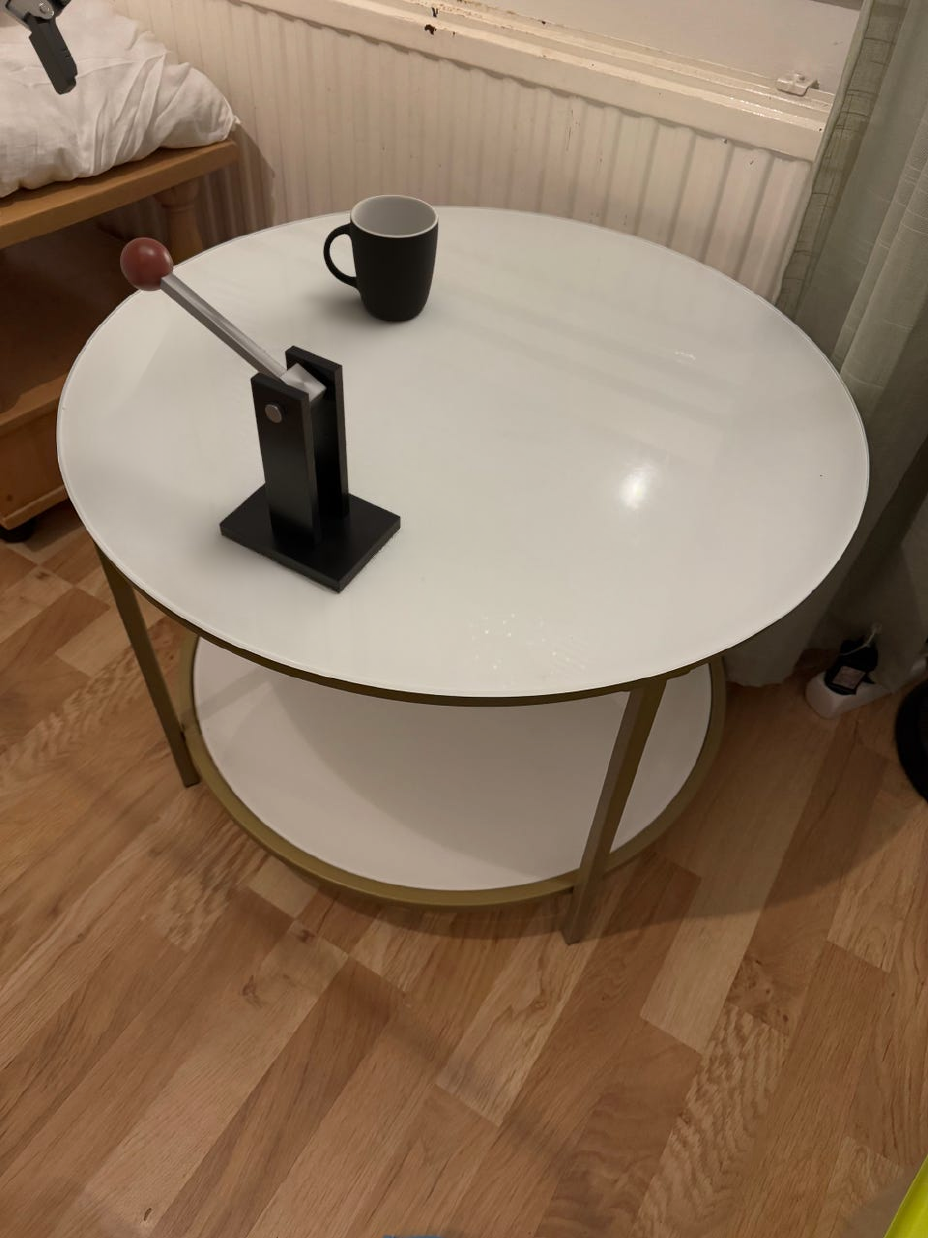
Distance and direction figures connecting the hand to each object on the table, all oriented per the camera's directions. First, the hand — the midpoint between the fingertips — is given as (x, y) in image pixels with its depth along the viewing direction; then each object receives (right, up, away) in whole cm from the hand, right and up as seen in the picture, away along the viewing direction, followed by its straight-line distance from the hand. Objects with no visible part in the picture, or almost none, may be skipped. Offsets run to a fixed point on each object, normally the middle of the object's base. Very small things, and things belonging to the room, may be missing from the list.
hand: (10, 106), depth 59 cm
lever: (+11, -13, +7) cm, 19 cm away
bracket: (+17, -26, +17) cm, 35 cm away
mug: (+21, +1, +40) cm, 45 cm away
